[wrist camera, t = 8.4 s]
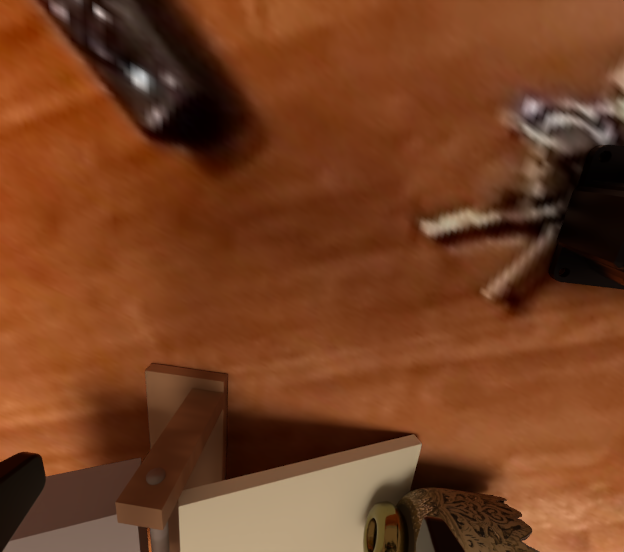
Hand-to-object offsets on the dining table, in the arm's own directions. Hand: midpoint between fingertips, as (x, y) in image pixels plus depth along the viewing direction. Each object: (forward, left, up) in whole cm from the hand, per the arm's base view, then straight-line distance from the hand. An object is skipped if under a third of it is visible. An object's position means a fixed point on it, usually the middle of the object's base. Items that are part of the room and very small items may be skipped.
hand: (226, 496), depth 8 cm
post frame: (+6, +15, -12) cm, 21 cm away
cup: (-6, +12, -8) cm, 16 cm away
